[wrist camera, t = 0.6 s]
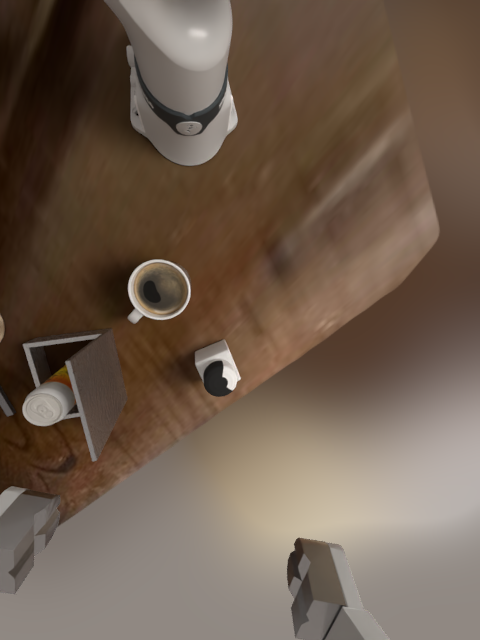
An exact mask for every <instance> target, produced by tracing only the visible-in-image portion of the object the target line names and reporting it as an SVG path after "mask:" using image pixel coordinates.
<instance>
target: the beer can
mask: <svg viewBox="0 0 480 640" xmlns="http://www.w3.org/2000/svg"><path fill="white" fill-rule="evenodd" d="M75 404H76V399H75V395H74V392H73V388H72V384H71V381H70V377H69V373H68V370H67V366H66V365H65V366H64V367H63V368H61V369H60V370H59V371H58V372H56V373H55V374H54V375H53V376H51V377H50V378H49V379H47V380H46V381H45V382H44V383H42V384H41V385H40V386H39V387H37V388H36V389H35V390H34V391H32V392H31V393H30V394H29V395H28V396H27V397H26V399H25V402H24V404H23V408H22V411H23V415H24V417H25V418H26V419H27V420H28V421H29V422H30V423H32V424H34V425H38V426H48V425H52V424H54V423H56V422H58V421H60V420H62V419H63V418H64V417H65V416H66V415H67V413H68V412H69V411H70V410H71V409H72V408H73V406H74V405H75Z"/></svg>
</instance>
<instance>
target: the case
mask: <svg viewBox="0 0 480 640" xmlns="http://www.w3.org/2000/svg"><path fill="white" fill-rule="evenodd" d="M90 339H94V340H93V341H92V342H90V343H89V344H88V345H86V346H85V347H84V348H82V349H81V350H80V351H78V352H77V353H76V354H74V355H73V356H72V357H70V358H69V359H68V360H66V361H65V363H66V366H67V370H68V373H69V377H70V381H71V384H72V388H73V392H74V395H75V399H76V403H77V404H75V405H74V406H73V408H72V409H71V410H70V411H69V412H68V413H67V415H66V416H65V417H64V418H63V419H67V418H73V417H79V416H80V417H81V421H82V425H83V428H84V432H85V436H86V439H87V443H88V447H89V450H90V454H91V458H92V461H97V459H98V457H99V455H100V453H101V451H102V449H103V447H104V445H105V443H106V441H107V439H108V437H109V435H110V433H111V431H112V429H113V427H114V425H115V423H116V421H117V419H118V417H119V415H120V413H121V411H122V409H123V407H124V405H125V403H126V401H127V395H126V390H125V386H124V381H123V377H122V372H121V368H120V363H119V359H118V354H117V349H116V345H115V340H114V336H113V331H112V328H109V329H101V330H93V331H86V332H78V333H70V334H62V335H55V336H47V337H39V338H35V339H33V340H30V341H28V342H26V343H24V344H23V347H24V350H25V353H26V357H27V360H28V363H29V366H30V369H31V373H32V376H33V379H34V382H35V386H36V388H37V387H39V386H40V385H41V384H42V383H44V382H45V381H46V380H47V379H49V378H50V377H51V376H52V375H51V372H50V368H49V365H48V361H47V358H46V355H45V351H44V348H43V346H45V345H53V344H60V343H68V342H75V341H83V340H90Z"/></svg>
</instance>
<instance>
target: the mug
mask: <svg viewBox="0 0 480 640" xmlns="http://www.w3.org/2000/svg"><path fill="white" fill-rule="evenodd" d="M128 294H129V298H130V301H131V302H132V304H133V306H134V307H135V309H134V310H133V311H132V312H131V313H130V315H129V316H128V320H129V321H131V322H132V323H133V324H135V323H136V322H137V321H138V320H139V319H140V318H141V317H142V316H143V315H144V316H146V317H148V318H151V319H156V320H166V319H170V318H173V317H175V316H177V315H178V314H180V313H181V312H182V311H183V310H184V309H185V307H186V306H187V304H188V302H189V299H190V294H191V280H190V277H189V274H188V273H187V271H186V270H185V269H184V268H183V267H182V266H181V265H179V264H178V263H176V262H173V261H169V260H159V259H157V260H150V261H147V262H144V263H142V264H141V265H139V266H138V267H137V268H136V269H135V270H134V271H133V273H132V274H131V276H130V279H129V282H128Z"/></svg>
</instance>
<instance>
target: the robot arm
mask: <svg viewBox="0 0 480 640" xmlns="http://www.w3.org/2000/svg"><path fill="white" fill-rule="evenodd" d="M104 2H105V3H106V4H107V5H108V6H109V7H110V9H111V10H112V11H113V12H114V14H115V15H116V16H117V18H118V19H119V20H120V22H121V23H122V25H123V26H124V28H125V30H126V33H127V35H128V38H129V40H130V43H131V46H130V45H128V46H127V59H128V64H129V66H131V75H130V82H131V124H132V126H133V128H134V129H135V130H136V131H138V132H139V133H140V134H142V135H144V136H145V137H147V138H148V139H149V140H150V141H151V142H152V144H153V145H154V146H155V148H156V149H157V150H158V151H159V152H160V153H161V154H162V155H163V156H165V157H166V158H167V159H169V160H171V161H173V162H175V163H177V164H181V165H187V166H193V165H199V164H202V163H204V162H206V161H208V160H210V159H211V158H212V157H213V156H214V155H215V154H216V153H217V152H218V150H219V149H220V147H221V145H222V143H223V141H224V139H225V137H226V136H227V135H228V134H229V133H230V132H231V131H233V130H234V129H235V127H236V126H237V121H238V118H237V114H236V110H235V106H234V102H233V96H232V94H231V90H230V86H229V82H228V64H227V59H228V53H229V47H230V41H231V34H232V11H231V5H230V0H104ZM137 113H138V115H139V116H137V115H136V114H137ZM59 504H60V495H54V494H49V493H44V492H39V491H33V490H29V489H24V488H18V487H13V486H11V487H10V488H8V489H7V490H5V491H4V492H3V493H2V494H1V495H0V592H1V593H10V594H15V593H16V591H17V590H18V589H19V587H20V586H21V584H22V583H23V581H24V580H25V578H26V577H27V575H28V574H29V572H30V570H31V569H32V568H33V566H34V556H35V555H36V554H38V553H39V552H41V551H42V550H43V549H45V548H46V546H47V544H48V543H49V541H50V540H51V538H52V536H53V534H54V532H55V530H56V528H57V525H58V522H59V516H60V513H59V511H58V510H57V509H56V508H57V507H58V505H59ZM294 546H295V551H293V552H292V553H290V557H289V559H288V566H287V580H288V588H289V591H290V592H291V594H292V596H293V597H294V602H293V604H292V607H291V610H292V617H293V624H294V631H295V638H298V639H303V640H390V639H389V638H388V636H387V635H386V633H385V632H384V631H383V629H382V628H381V627H380V625H379V624H378V623H377V621H376V620H375V619H374V617H373V616H372V615H371V613H370V612H369V611H367V610H364V608H363V605H362V602H361V599H360V596H359V594H358V591H357V588H356V585H355V582H354V579H353V576H352V573H351V570H350V567H349V564H348V561H347V558H346V555H345V552H344V550H343V548H342V546H341V545H338V544H332V543H326V542H323V541H317V540H310V539H304V538H298V539H296V541H295V543H294Z"/></svg>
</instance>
